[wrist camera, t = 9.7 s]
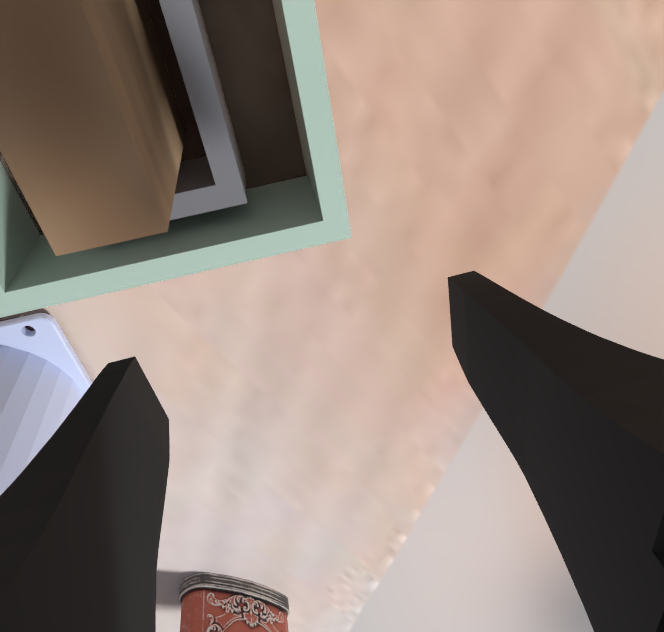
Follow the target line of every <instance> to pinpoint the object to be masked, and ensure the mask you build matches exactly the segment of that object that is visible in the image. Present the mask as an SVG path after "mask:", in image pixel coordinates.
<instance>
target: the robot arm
mask: <svg viewBox="0 0 664 632" xmlns="http://www.w3.org/2000/svg"><path fill="white" fill-rule="evenodd" d="M448 287H449V301H450V316H451V331H452V345H453V348H454V351H455V353H456V355H457V358H458V360H459V362H460V365H461V367H462V369H463V371H464V374H465V376H466V378H467V380H468V382H469V384H470V386H471V387H472V389H473V391H474V392H475V394H476V396H477V397H478V399H479V401H480V402H481V404H482V406H483V407H484V409H485V411H486V412H487V414H488V415H489V417H490V419H491V420H492V422H493V423H494V425H495V427H496V428H497V430H498V431H499V433H500V435H501V436H502V438H503V440H504V441H505V443H506V445H507V446H508V448H509V449H510V451H511V453H512V454H513V456H514V458H515V459H516V461H517V463H518V465H519V466H520V468H521V470H522V472H523V474H524V476H525V478H526V480H527V482H528V484H529V486H530V488H531V490H532V492H533V494H534V496H535V498H536V501H537V502H538V505H539V507H540V509H541V511H542V513H543V515H544V517H545V519H546V522H547V524H548V526H549V528H550V531H551V533H552V535H553V537H554V539H555V541H556V544H557V546H558V548H559V550H560V552H561V554H562V557H563V559H564V561H565V564H566V566H567V568H568V571H569V573H570V575H571V578H572V580H573V582H574V585H575V587H576V589H577V591H578V594H579V596H580V598H581V601H582V603H583V605H584V608H585V610H586V612H587V615H588V618H589V620H590V622H591V625H592V627H593V630H594V632H664V360H663V359H660V358H657V357H653V356H651V355H647V354H645V353H642V352H638V351H636V350H633V349H630V348H627V347H625V346H622V345H620V344H617V343H614V342H612V341H609V340H607V339H604V338H602V337H599V336H597V335H594V334H592V333H590V332H587V331H585V330H583V329H581V328H579V327H577V326H575V325H572V324H570V323H568V322H566V321H564V320H562V319H560V318H558V317H556V316H554V315H552V314H550V313H548V312H546V311H544V310H542V309H540V308H538V307H537V306H535V305H533V304H531V303H529V302H527V301H526V300H524V299H522V298H520V297H519V296H517V295H515V294H513V293H512V292H510V291H508V290H506V289H505V288H503V287H501V286H500V285H498V284H496V283H494V282H493V281H491V280H489V279H488V278H486V277H484V276H482V275H481V274H479V273H477V272H475V271H471V272H467V273H463V274H460V275H456V276H452V277H448ZM24 326H31V327H33V328H34V329H35V331H30V330H28V329H26V328H25V327H24ZM168 468H169V419H168V417H167V415H166V413H165V411H164V409H163V408H162V406H161V404H160V402H159V400H158V398H157V396H156V395H155V393H154V391H153V389H152V387H151V385H150V383H149V382H148V380H147V378H146V376H145V374H144V372H143V370H142V369H141V367H140V365H139V363H138V361H137V359H136V357H131V358H127V359H123V360H119V361H115V362H111V363H108V364H107V365H106V367H105V368H104V369H103V370H102V371H101V373H100V374H99V375H98V376H97V378H96V379H95V380H94V382H93V383H92V381H91V379H90V378H89V376H88V374H87V373H86V371H85V369H84V367H83V366H82V364H81V362H80V361H79V359H78V357H77V356H76V354H75V352H74V350H73V349H72V347H71V345H70V344H69V342H68V340H67V338H66V337H65V335H64V333H63V332H62V330H61V328H60V327H59V325H58V323H57V321H56V320H55V319H54V318H53V317H52V316H50V315H49V314H45V313H36V314H32V315H27V316H23V317H19V318H14V319H10V320H6V321H1V322H0V632H155V612H156V570H157V558H158V548H159V540H160V532H161V524H162V517H163V509H164V501H165V493H166V485H167V477H168Z"/></svg>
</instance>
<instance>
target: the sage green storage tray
mask: <svg viewBox="0 0 664 632" xmlns="http://www.w3.org/2000/svg"><path fill="white" fill-rule="evenodd" d="M159 2H160V5H161V9H162V12H163V15H164V18H165V22H166V25H167V28H168V31H169V35H170V38H171V41H172V44H173V48H174V51H175V54H176V57H177V61H178V64H179V67H180V70H181V74H182V77H183V80H184V83H185V87H186V90H187V93H188V96H189V100H190V103H191V106H192V109H193V113H194V116H195V119H196V122H197V126H198V129H199V132H200V136H201V139H202V142H203V145H204V149H205V152H206V155H207V156H205V157H200V158H196V159H191V160H186V161H182V162H180V167H179V173H178V178H177V184H176V189H175V194H174V200H173V205H172V211H171V216H170V221H169V227H168V232H165V233H160V234H155V235H151V236H146V237H142V238H137V239H133V240H128V241H123V242H119V243H114V244H110V245H105V246H101V247H96V248H92V249H87V250H82V251H78V252H73V253H69V254H64V255H60V256H56V255H55V253H54V252H53V250H52V248H51V246H50V244H49V242H48V240H47V238H46V237H45V235H44V234H42V235H40V233H39V231H38V229H37V228H36V226H35V224H34V222H33V220H32V218H31V217H30V215H29V213H28V211H27V209H26V207H25V206H24V204H23V202H22V200H21V198H20V196H19V195H18V193H17V191H16V189H15V187H14V185H13V183H12V182H11V180H10V178H9V176H8V174H7V172H6V171H5V169H4V167H3V165H2V163H1V161H0V318H1V317H5V316H10V315H14V314H19V313H23V312H27V311H32V310H36V309H41V308H45V307H49V306H54V305H58V304H62V303H67V302H71V301H76V300H80V299H84V298H89V297H93V296H98V295H102V294H106V293H111V292H115V291H120V290H124V289H128V288H133V287H137V286H142V285H146V284H150V283H155V282H159V281H164V280H168V279H172V278H177V277H181V276H185V275H190V274H194V273H199V272H203V271H207V270H212V269H216V268H221V267H225V266H229V265H234V264H238V263H243V262H247V261H251V260H256V259H260V258H265V257H269V256H273V255H278V254H282V253H287V252H291V251H295V250H300V249H304V248H308V247H313V246H317V245H322V244H326V243H330V242H335V241H339V240H344V239H348V238H352V237H351V230H350V224H349V218H348V211H347V205H346V199H345V192H344V186H343V180H342V173H341V167H340V161H339V154H338V148H337V142H336V135H335V129H334V123H333V117H332V110H331V104H330V98H329V91H328V85H327V79H326V72H325V66H324V60H323V53H322V47H321V41H320V34H319V28H318V22H317V15H316V9H315V3H314V0H272V2H273V7H274V12H275V17H276V22H277V27H278V32H279V37H280V42H281V47H282V52H283V57H284V63H285V68H286V73H287V78H288V83H289V88H290V93H291V98H292V103H293V108H294V113H295V118H296V123H297V128H298V133H299V138H300V143H301V148H302V153H303V158H304V163H305V168H306V173H307V176H303V177H299V178H294V179H290V180H285V181H281V182H276V183H272V184H267V185H263V186H258V187H254V188H249V189H246V182H245V171H244V167H243V163H242V160H241V156H240V152H239V149H238V145H237V141H236V137H235V134H234V130H233V126H232V123H231V119H230V115H229V111H228V108H227V104H226V100H225V97H224V93H223V89H222V85H221V82H220V78H219V74H218V71H217V67H216V63H215V59H214V56H213V52H212V48H211V45H210V41H209V37H208V33H207V30H206V26H205V22H204V19H203V15H202V11H201V7H200V4H199V0H159Z"/></svg>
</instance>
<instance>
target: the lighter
mask: <svg viewBox="0 0 664 632" xmlns="http://www.w3.org/2000/svg"><path fill="white" fill-rule="evenodd" d="M179 602H180V604H181V605H182V607H181V624H180V632H288V623H287V617H288V616H289V605H288V598H287V597H286V596H285V595H283V594H281V593H279V592H277V591H275V590H273V589H271V588H269V587H266V586H263V585H260V584H258V583H255V582H252V581H248V580H244V579H240V578H236V577H232V576H226V575H219V574H213V573H197V574H193V575H191V576H188V577H187V578H185V579H184V580H183V581H182V582H181V584H180V591H179Z"/></svg>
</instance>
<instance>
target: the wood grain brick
mask: <svg viewBox="0 0 664 632" xmlns="http://www.w3.org/2000/svg"><path fill="white" fill-rule="evenodd" d="M185 135H186V127H185V124H184V120H183V117H182V114H181V111H180V108H179V105H178V101H177V98H176V95H175V92H174V89H173V86H172V82H171V79H170V76H169V73H168V70H167V67H166V63H165V60H164V57H163V54H162V51H161V48H160V44H159V41H158V38H157V35H156V32H155V29H154V25H153V22H152V19H151V16H150V13H149V9H148V6H147V3H146V0H0V152H1V154H2V156H3V158H4V160H5V161H6V163H7V165H8V167H9V169H10V171H11V173H12V175H13V176H14V178H15V180H16V182H17V184H18V186H19V188H20V190H21V191H22V193H23V195H24V197H25V199H26V201H27V203H28V205H29V206H30V208H31V210H32V212H33V214H34V216H35V218H36V220H37V222H38V223H39V225H40V227H41V229H42V231H43V233H44V235H45V237H46V238H47V240H48V242H49V244H50V246H51V248H52V250H53V252H54V253H55V255H56V256H60V255H64V254H69V253H73V252H78V251H82V250H87V249H92V248H96V247H101V246H105V245H110V244H114V243H119V242H123V241H128V240H133V239H137V238H142V237H146V236H151V235H155V234H160V233H165V232H168V227H169V221H170V216H171V211H172V205H173V200H174V194H175V189H176V184H177V178H178V173H179V167H180V162H181V156H182V151H183V146H184V140H185Z"/></svg>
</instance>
